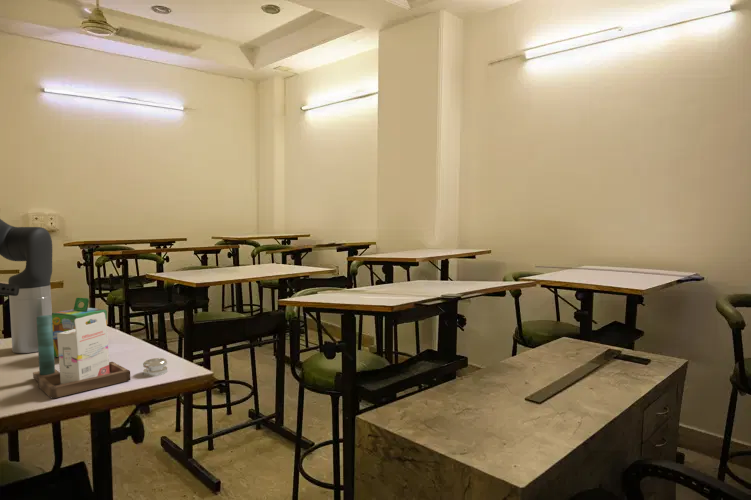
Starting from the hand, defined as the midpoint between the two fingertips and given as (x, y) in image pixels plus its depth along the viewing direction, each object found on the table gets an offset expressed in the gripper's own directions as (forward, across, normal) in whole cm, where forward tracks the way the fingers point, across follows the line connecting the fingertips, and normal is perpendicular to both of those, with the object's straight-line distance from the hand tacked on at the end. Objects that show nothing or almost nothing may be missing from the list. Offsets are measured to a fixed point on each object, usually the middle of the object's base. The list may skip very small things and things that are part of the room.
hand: (7, 290), depth 99 cm
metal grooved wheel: (+26, -15, +16) cm, 34 cm away
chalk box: (+26, +16, +14) cm, 34 cm away
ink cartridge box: (+14, -8, +18) cm, 25 cm away
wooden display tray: (+15, -5, +18) cm, 24 cm away
